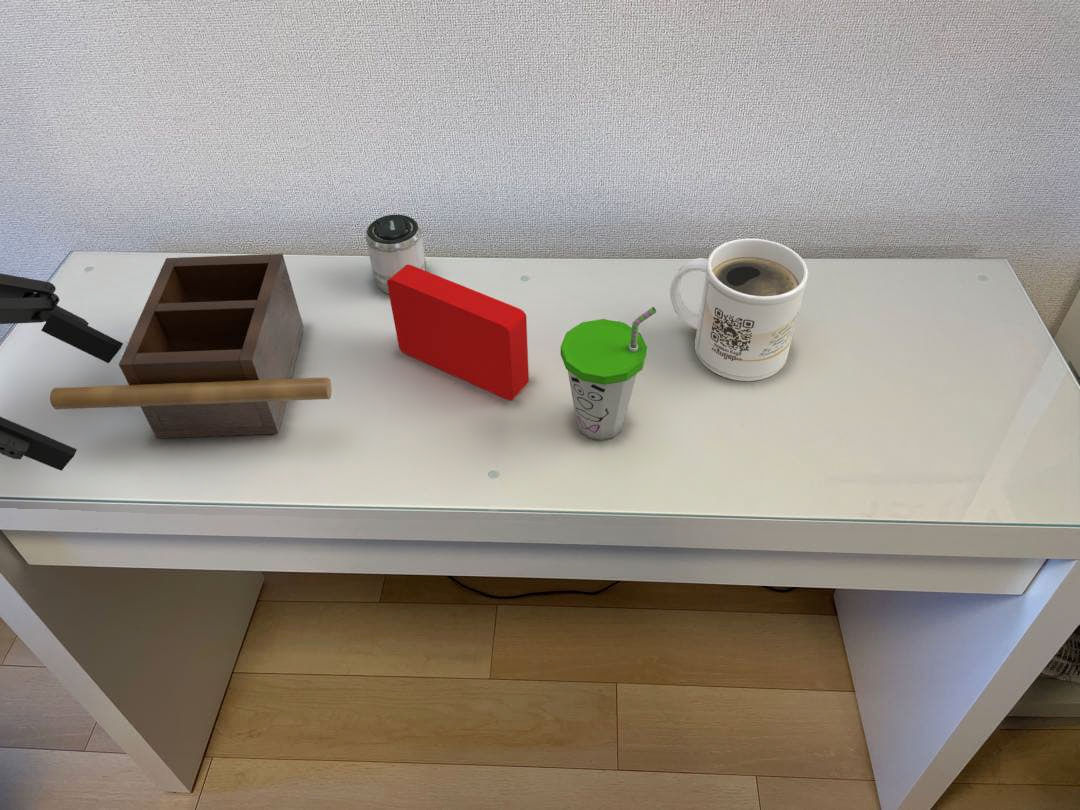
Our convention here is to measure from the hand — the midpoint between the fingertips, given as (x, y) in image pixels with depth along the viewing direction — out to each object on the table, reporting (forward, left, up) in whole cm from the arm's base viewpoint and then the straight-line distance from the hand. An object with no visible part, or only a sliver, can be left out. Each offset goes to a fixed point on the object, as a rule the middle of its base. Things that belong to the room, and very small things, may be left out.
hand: (94, 403), depth 79 cm
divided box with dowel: (+12, +4, -6) cm, 14 cm away
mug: (+63, -11, -6) cm, 64 cm away
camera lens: (+33, +14, -6) cm, 36 cm away
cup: (+45, -16, -6) cm, 48 cm away
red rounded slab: (+35, -3, -6) cm, 35 cm away
